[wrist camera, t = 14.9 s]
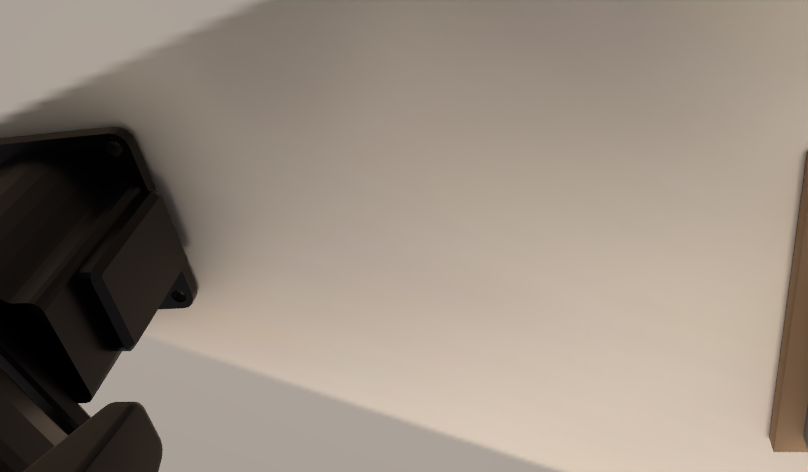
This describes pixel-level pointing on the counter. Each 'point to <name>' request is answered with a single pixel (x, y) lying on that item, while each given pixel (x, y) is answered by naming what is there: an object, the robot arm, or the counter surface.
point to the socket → (794, 349)
